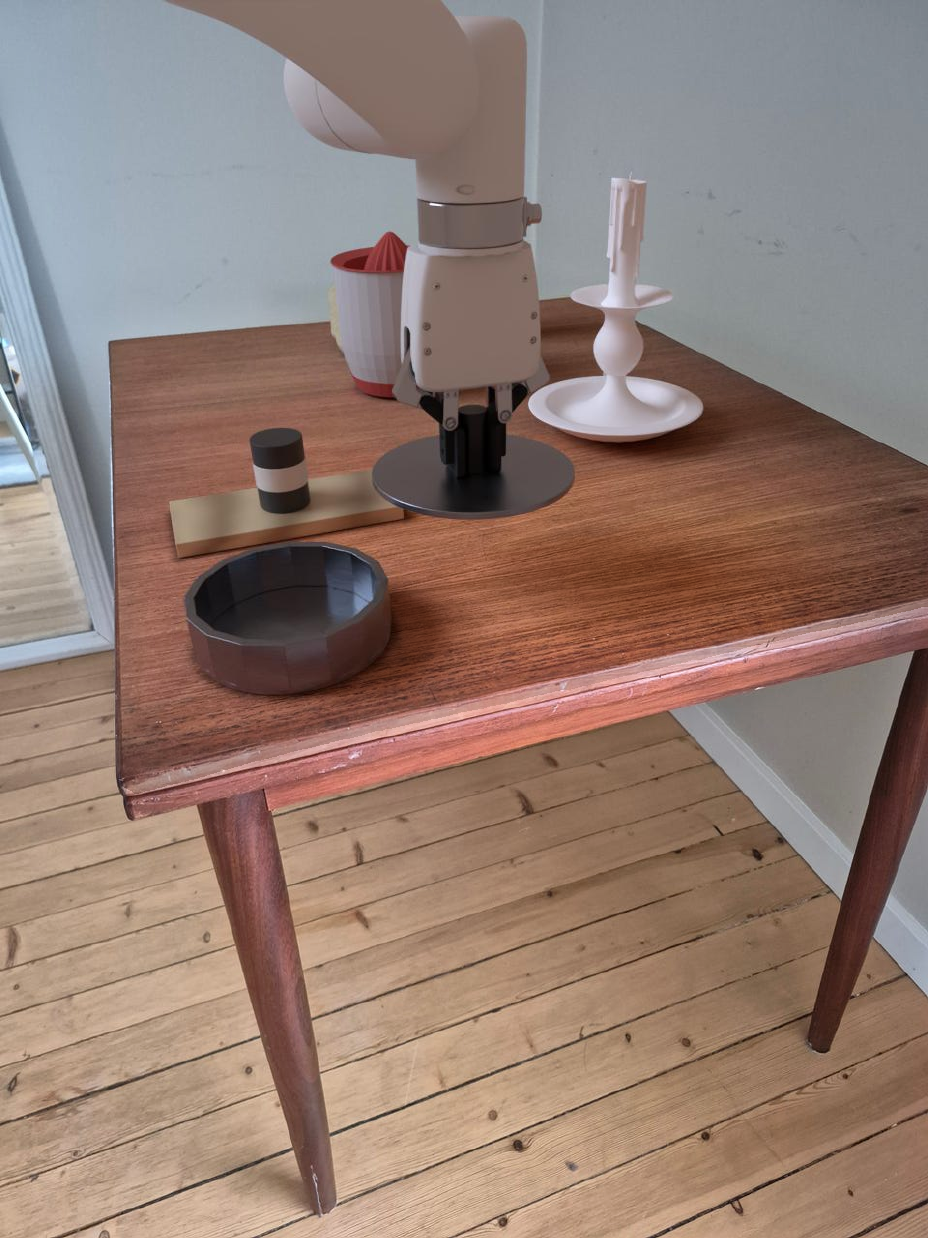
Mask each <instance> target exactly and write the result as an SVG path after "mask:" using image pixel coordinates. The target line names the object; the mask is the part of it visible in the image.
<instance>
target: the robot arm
mask: <svg viewBox="0 0 928 1238" xmlns="http://www.w3.org/2000/svg"><path fill="white" fill-rule="evenodd" d="M161 1H162V2H165V3H168V4H171V5H174V6H176V7H178V8H182V9H185V10H189V11H191V12H193V13H194V12H195V13H197V14H201V15H202V16H206V17H209V18H211V19H214V20H217V21H219V22H222V23H224V24H226V25H228V26H230V27H233V28H235V29H237V30H238V31H240V32H243V33H245V34H246V35H248V36H250V37H252V38H254V39H256V40H257V41H259V42H261V43H262V44H264V45H266V46H267V47H269V48H271V49H272V50H274V51H275V52H277V53H278V54H280V55H282V56H283V57H285V58H286V59H285V63H284V68H283V87H284V94H285V97H286V101H287V103H288V106H289V108H290V111H291V112H292V114H293V116H294V118H295V119H296V120H297V122H298V123H299V124H300V126H301V127H302V128H303V129H304V130H305V132H307V133H308V134H310V136H312V137H313V138H315V139H316V140H318V141H320V142H321V143H323V144H325V145H327V146H329V147H332V148H335V149H339V150H342V151H348V152H357V153H361V154H369V155H381V156H389V157H394V158H399V159H401V158H402V159H408V160H414V163H415V164H414V165H415V184H416V188H415V189H416V214H417V216H416V217H417V240H418V241H417V243H418V244H413V245H412V244H411V245H409V247H408V248H407V253H406V259H405V266H404V275H403V288H402V306H401V361H402V366H401V368H400V371H399V373H398V376H397V379H396V381H395V384H394V387H393V389H392V394H393V396H394V397H393V398H394V399H396V401H397V402H399V403H401V404H404V405H407V406H410V407H412V408H416V409H419V410H422V411H424V412H425V413H426V414H428V415H429V416H430V417H431V418H432V419H433V420H435V421H436V422H437V423H438V433H439V434H438V435H439V440H440V458H441V461H442V463H443V464H444V465H447V467H448V468H449V469H450V470H451V472H452V473H453V474H454V475H455V476H456V477H463V475H465V432H464V430H463V429H462V427H461V426H460V420H459V419H458V410H459V405H460V399H459V398H460V391H463V390H471V389H480V388H485V407H486V408H487V409H488V467H489V468H490V469H491V470H493V471H494V472H497V471H501V457H503V456H505V455H506V434H507V424H508V423H510V422H511V420H512V419H513V413H514V412H515V411H516V410H517V409H518V407H519V406H520V405H521V404H522V403H523V401H524V400H526V399H527V397H528V395H530V394H533V393H535V392H537V391H538V390H540V389H541V388H543V387H545V386H546V385H547V384H548V383H549V382H550V381H551V376H550V372H549V371H548V368H547V366H546V364H545V361H544V359H543V357H542V354H541V351H542V350H541V349H542V347H541V346H542V345H541V343H542V341H541V336H542V335H541V309H540V296H539V287H538V280H537V279H538V277H537V272H536V271H537V270H536V265H535V259H534V253H533V249H532V248H533V247H532V244H531V243H529V242H527V240H524V238H526V237H527V229H528V227H530V226H532V225H534V224H540V223H541V221H542V217H543V211H542V206H541V205H540V203H531V202H530V201H528V197H527V196H525V172H526V171H525V169H526V128H527V125H526V123H527V84H528V83H527V82H528V81H527V80H528V79H527V77H528V76H527V75H528V74H527V73H528V70H527V69H528V44H527V43H528V42H527V37H526V33H525V30H524V29H523V27H522V25H521V24H520V23H519V22H518V21H517V20H515V19H513V18H510V17H508V16H507V17H506V16H502V15H454V14H453V13H452V11H450V9H449V8H448V7H447V6H446V5H445V3H444V2H443V1H442V0H161ZM416 384H417V386H418V387H419V388H420V389H422V390H420V389H418V388H416ZM423 390H425V391H423ZM427 391H428V392H427ZM431 393H432V394H431Z"/></svg>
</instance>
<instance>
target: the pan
mask: <svg viewBox="0 0 928 1238" xmlns="http://www.w3.org/2000/svg"><path fill="white" fill-rule="evenodd" d="M390 596H391V595H390V584H389V578H388V576H387V575H386V572H385V571H384V569H383V567H382V565H381V563H380V561H379V560H377V559H375V558H373V557H371V556H370V555H368V554H366V553H365V552H363V551H362V550H359V548H356V547H351V546H346V545H342V544H337V543H333V542H329V541H284V542H280V543H274V544H269V545H263V546H257V547H256V546H255V547H252V548H250V549H246V550H244V551H242V552H239V553H236V554H234V555H231V556H228V557H225V558H223V559H221V560H220V561H218V562H217V563H215V564H213V565H212V566H211V567H210V568H208V569H206V570H205V571H204V572H202V573H201V574H199V575H198V576H197V577H196V578H195V579H194V581H193V582H192V583H191V585H190V587H189V589H188V590H187V592H186V593H185V595H184V596H183V604H184V605H183V606H184V610H185V611H184V612H185V619H186V623H187V627H188V631H189V636H190V639H191V640H190V641H191V644H192V648H193V652H194V653H193V654H194V657H195V660H196V661H195V662H196V663H197V664H198V665H199V667H200V669H201V670H202V671H203V672H204V674H206V676H208V677H209V678H210V679H211V680H213V681H214V682H216V683H218V684H220V685H222V686H223V687H227V688H229V689H231V690H235V691H238V692H243V693H246V694H247V693H248V694H254V695H266V696H281V695H282V696H285V695H295V694H302V693H307V692H308V693H309V692H312V691H316V690H320V689H324V688H328V687H330V686H333V685H336V684H339V683H341V682H343V681H346V680H348V679H350V678H352V677H354V676H356V675H357V674H359V673H361V672H363V671H364V670H365V669H366V668H368V667H369V666H371V665H372V664H373V663H374V662H375V661H376V660H377V659H378V658H379V657H380V656H381V655H382V653H383V652H384V651H385V649H386V647H387V645H388V643H389V640H390V637H391V632H392V631H391V630H392V629H391V626H392V622H393V620H392V619H393V618H392V607H391V606H392V605H391V597H390Z"/></svg>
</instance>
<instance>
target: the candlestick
mask: <svg viewBox="0 0 928 1238" xmlns="http://www.w3.org/2000/svg"><path fill="white" fill-rule="evenodd" d="M632 175H633V171H632V170H631V172H630V174H629V178H624V177H611V178H610V199H609V217H608V234H607V235H608V237H607V238H608V239H607V251H606V258H608V259H609V273H608V283H603V284H594V285H589V286H584V287H581V288H580V287H579V288H577V289H575V290H573V291H572V292H571V293H570V295H569V296H570V299H571V300H573V301H574V302H576V303H578V304H581V305H585V306H588V307H592V308H595V309H597V310H600V311H602V312H603V314H604V321H603V325H602V326H601V328H600V329H599V330H598V333H597V335H596V337H595V339H594V341H593V346H592V347H593V349H592V350H593V357H594V359H595V361H596V364H597V365H598V367H599V368H600V369H601V371H602V372H603V375H593V376H582V377H575V378H569V379H565V380H561V381H556V382H553V383H551V384H548V385H544V386H542V387H541V388H539V389H537V390H536V391H534V392H533V393H532V395H531V396H530V397H529V399H528V401H527V402H528V403H527V406H528V409H529V411H530V413H531V414H532V415H533V416H534V417H535V418H536V419H538V420H540V421H542V422H544V423H546V424H547V425H550V426H552V427H554V428H556V429H557V430H559V431H562V432H563V433H566V434H568V435H571V436H573V437H577V438H580V439H584V440H585V439H586V440H589V441H595V442H603V443H628V442H629V443H631V442H633V443H634V442H637V441H646V440H649V439H654V438H657V437H660V436H663V435H666V434H668V433H670V432H673V431H674V430H677V429H680V428H683V427H685V426H688V425H689V424H692V423H693V422H695V421H696V420H698V419H699V418H700V417H701V415H702V414H703V411H704V404H703V402H702V400H701V399H700V398H699V397H698V396H697V395H696V394H695V393H693V392H692V391H690V390H688V389H687V388H684V387H682V386H679V385H676V384H673V383H670V382H666V381H663V380H657V379H653V378H646V377H639V376H628V374H629V373H631V372H632V371H633V370H634V369H635V368H636V366H637V365H638V364H639V362H640V360H641V358H642V355H643V353H644V340H643V337H642V335H641V333H640V330H639V328H638V327H637V323H636V316H637V314H638V313H639V312H641V311H643V310H645V309H648V308H654V307H658V306H661V305H664V304H668V303H670V302H671V301H672V300H673V299H674V293H672V292H671V291H670V290H668V289H666V288H662V287H658V286H655V285H648V284H638V283H637V278H640V271H639V268H640V255H641V243H642V242H644V225H645V213H646V211H645V210H646V200H647V199H646V197H647V183H648V182H647V181H646V180H643V179H631V178H632Z"/></svg>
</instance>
